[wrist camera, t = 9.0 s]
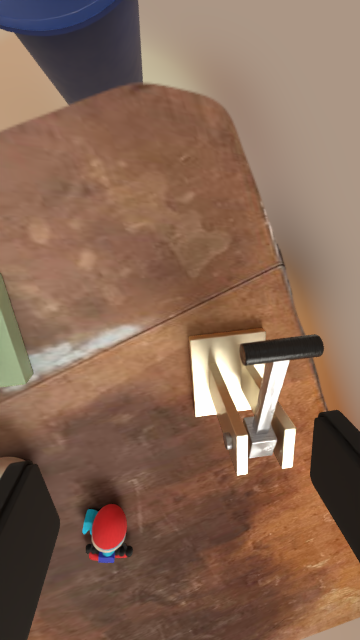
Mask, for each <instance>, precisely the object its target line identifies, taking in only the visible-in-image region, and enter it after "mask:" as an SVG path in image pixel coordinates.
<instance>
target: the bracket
mask: <svg viewBox="0 0 360 640" xmlns="http://www.w3.org/2000/svg"><path fill="white" fill-rule="evenodd" d="M188 338H189V350H190V363H191V376H192V388H193V401H194V412H195V416H196V417H199V416H206V415H213V414H217V417H218V420H219V423H220V426H221V429H222V432H223V438H224V444H225V447H226V449H227V450H229V453H230V457H231V460H232V463H233V466H234V469H235V472H236V475H243V474H248V433H247V431H246V429H245V427H244V424H243V422H242V420H241V417H240V415H239V413H238V411H243V410H250V409H252V411H253V413H254V414H255V410H256V405H257V401H258V396H259V391H260V387H261V382H262V378H263V373H264V369H265V363H264V364H256V365H248V366H244V365H243V364H242V362H241V358H240V353H239V348H240V344H241V343H248V342H256V341H265V340H266V331H265V330H264V329H263V328H255V329H247V330H238V331H230V332H221V333H213V334H204V335H196V336H189V337H188ZM271 425H272V428H273V430H274V432H275V435H276V437H277V442H276V445H275V448H274V451H273V452H274V454H275V456H276V458H277V460H278V462H279V464H280V466H281V468H282V469H283V468H290V467H293V457H294V446H295V435H296V427H295V425H294V424H293V423H292V421H291V420H290V418H289V417H288V415H287V414H286V412H285V411H284V409H283V408H282V406H281V405H280V403H279V402H278V401H277V405H276V408H275V411H274V415H273V418H272V421H271Z"/></svg>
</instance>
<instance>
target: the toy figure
mask: <svg viewBox="0 0 360 640" xmlns="http://www.w3.org/2000/svg"><path fill="white" fill-rule="evenodd" d="M89 529H90V534H91V535H92V544H88V545H87V546H86V553H87V554H89V558H90V559H91V560H98V561H99V562H102V563H108V562H110V563H114V559H115V558H125V557H130V556H131V555H132V552H133V548H132V547H131V546H126V544H125V543H124V542H123V541H124V539H125V536H126V530H127V520H126V516H125V514H124V512H123V510H122V509H121V508H120V507H119V506H118V505H115V504H108V505H106V506H104V507H102V508H101V509H100V510H99V511H96V510H93V509H87V513H86V517H85V521H84V526H83V531H82V532H83V533H84V534H86V532H87V531H88V530H89ZM121 545H122V546H121Z"/></svg>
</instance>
